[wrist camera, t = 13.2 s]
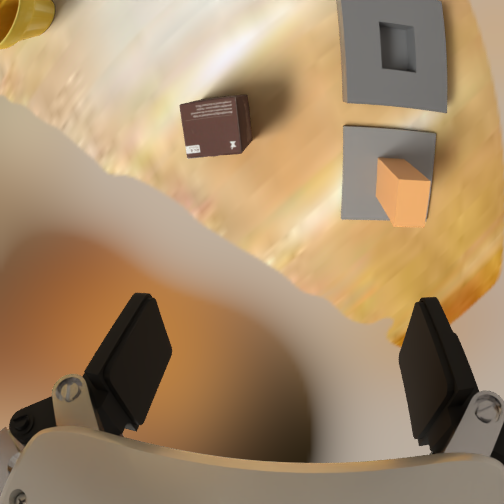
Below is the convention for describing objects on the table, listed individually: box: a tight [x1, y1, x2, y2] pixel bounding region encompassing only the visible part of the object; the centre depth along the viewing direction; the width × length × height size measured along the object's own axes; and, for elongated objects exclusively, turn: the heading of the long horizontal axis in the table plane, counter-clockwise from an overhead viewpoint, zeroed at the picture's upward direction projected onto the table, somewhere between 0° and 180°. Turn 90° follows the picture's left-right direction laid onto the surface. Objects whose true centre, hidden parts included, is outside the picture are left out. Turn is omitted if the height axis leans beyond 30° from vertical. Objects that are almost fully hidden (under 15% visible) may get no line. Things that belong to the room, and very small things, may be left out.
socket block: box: [336, 0, 447, 113], centre depth 27 cm, size 14×12×4 cm
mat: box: [341, 126, 436, 222], centre depth 36 cm, size 12×12×1 cm
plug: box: [376, 158, 431, 227], centre depth 32 cm, size 5×4×9 cm
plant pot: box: [0, 0, 55, 49], centre depth 25 cm, size 10×10×10 cm
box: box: [180, 95, 252, 158], centre depth 33 cm, size 6×6×7 cm
